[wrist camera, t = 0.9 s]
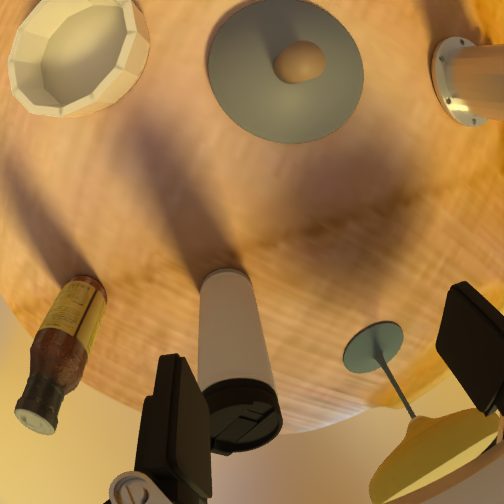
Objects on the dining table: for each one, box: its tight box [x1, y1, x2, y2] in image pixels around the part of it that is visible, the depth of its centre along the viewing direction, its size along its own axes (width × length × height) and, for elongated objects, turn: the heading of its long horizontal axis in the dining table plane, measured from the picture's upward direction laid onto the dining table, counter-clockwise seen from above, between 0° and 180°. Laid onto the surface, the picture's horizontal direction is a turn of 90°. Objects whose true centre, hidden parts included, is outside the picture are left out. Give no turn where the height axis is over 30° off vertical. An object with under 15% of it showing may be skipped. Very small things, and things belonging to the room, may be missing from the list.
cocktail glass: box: [343, 322, 500, 504], centre depth 34 cm, size 18×18×25 cm
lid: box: [208, 0, 364, 144], centre depth 24 cm, size 16×16×6 cm
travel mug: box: [198, 268, 283, 456], centre depth 28 cm, size 6×7×20 cm
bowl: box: [7, 0, 150, 117], centre depth 20 cm, size 13×13×6 cm
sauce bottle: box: [14, 275, 107, 435], centre depth 26 cm, size 7×6×20 cm
